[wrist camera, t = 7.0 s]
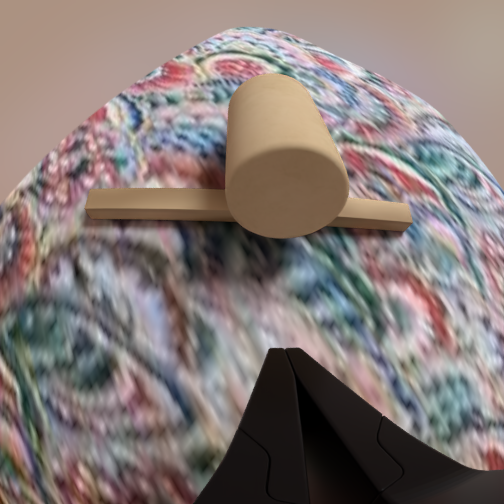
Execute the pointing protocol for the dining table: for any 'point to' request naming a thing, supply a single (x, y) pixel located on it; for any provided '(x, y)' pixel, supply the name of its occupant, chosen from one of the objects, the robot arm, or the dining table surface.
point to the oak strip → (226, 207)
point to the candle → (281, 160)
